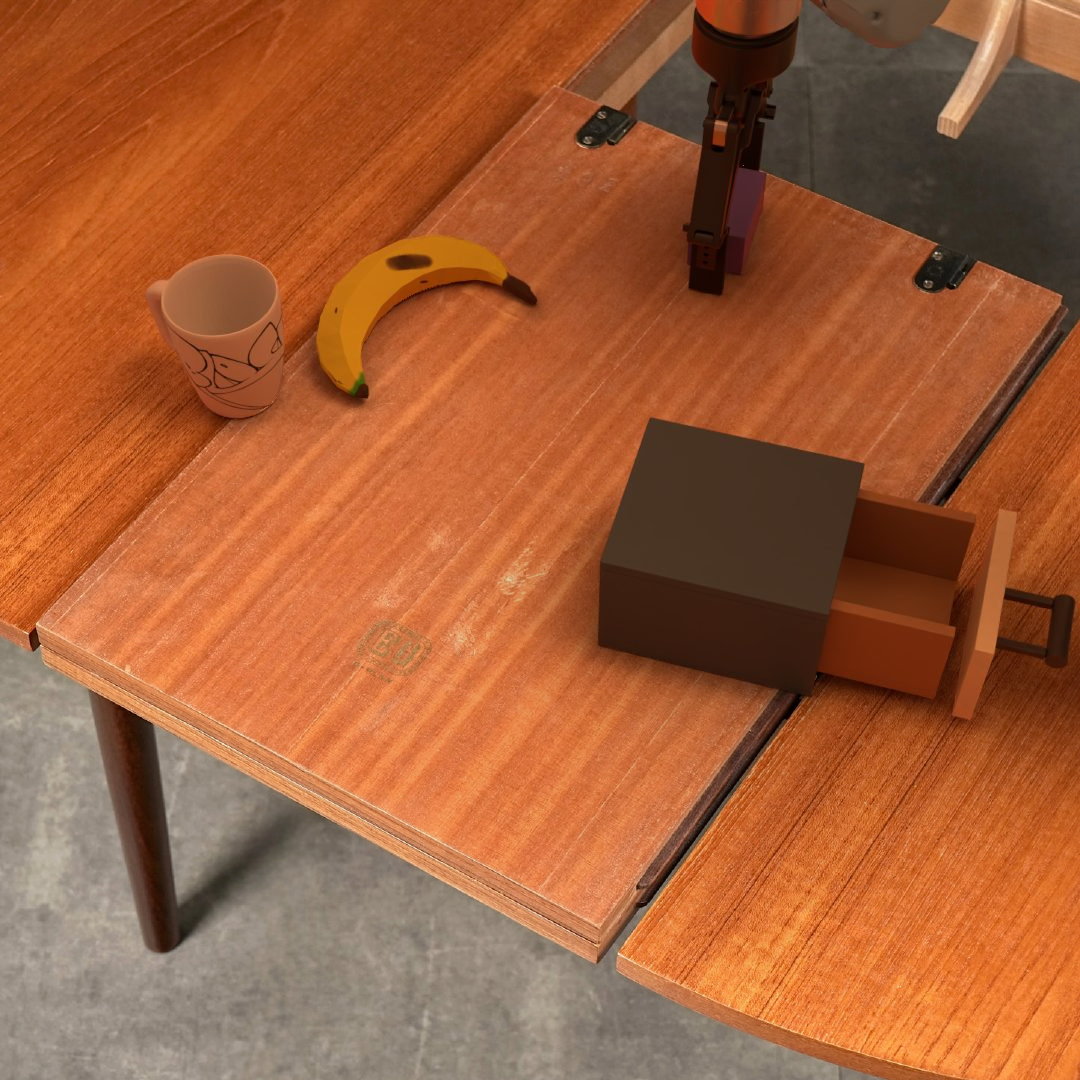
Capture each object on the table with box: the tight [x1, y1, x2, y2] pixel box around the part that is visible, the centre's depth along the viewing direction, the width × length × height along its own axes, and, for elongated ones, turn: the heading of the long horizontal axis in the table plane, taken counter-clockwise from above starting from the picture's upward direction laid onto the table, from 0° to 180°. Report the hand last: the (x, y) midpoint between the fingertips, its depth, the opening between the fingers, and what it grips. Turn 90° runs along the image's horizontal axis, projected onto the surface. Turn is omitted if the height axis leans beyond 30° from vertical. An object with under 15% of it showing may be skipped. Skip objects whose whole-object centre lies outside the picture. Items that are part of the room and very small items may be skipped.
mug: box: [144, 253, 285, 419], centre depth 125 cm, size 11×8×10 cm
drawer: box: [817, 488, 1076, 720], centre depth 111 cm, size 18×11×8 cm, turn 73°
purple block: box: [686, 168, 768, 276], centre depth 137 cm, size 4×8×4 cm, turn 163°
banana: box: [314, 234, 538, 400], centre depth 131 cm, size 5×17×15 cm
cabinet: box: [597, 416, 866, 698], centre depth 113 cm, size 15×13×10 cm
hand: (723, 235), depth 138 cm, fingers open, 12 cm apart
